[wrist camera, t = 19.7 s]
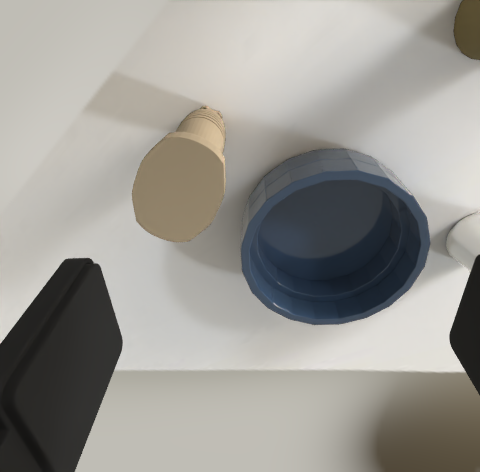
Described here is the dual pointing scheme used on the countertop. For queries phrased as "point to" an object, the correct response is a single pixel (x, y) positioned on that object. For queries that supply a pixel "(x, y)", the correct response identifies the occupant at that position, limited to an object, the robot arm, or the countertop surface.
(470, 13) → the olive tapered shaker
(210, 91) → the countertop surface
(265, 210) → the bowl
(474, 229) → the beer glass
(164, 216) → the handle
